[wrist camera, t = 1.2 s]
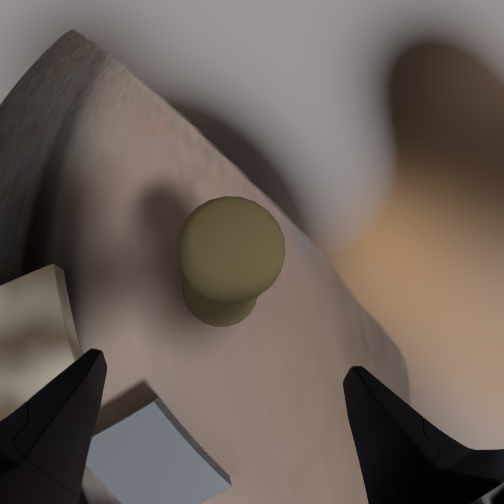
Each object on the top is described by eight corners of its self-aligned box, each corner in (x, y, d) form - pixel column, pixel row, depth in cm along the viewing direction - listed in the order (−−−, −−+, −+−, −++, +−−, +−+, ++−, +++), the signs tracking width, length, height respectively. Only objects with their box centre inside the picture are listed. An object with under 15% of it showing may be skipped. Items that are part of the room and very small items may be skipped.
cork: (273, 289, 23) (327, 238, 12) (221, 342, 20) (236, 337, 10) (221, 239, 23) (234, 156, 13) (168, 288, 21) (135, 232, 11)
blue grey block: (229, 473, 17) (231, 486, 15) (150, 512, 14) (146, 525, 12) (159, 395, 19) (153, 401, 16) (84, 439, 16) (72, 447, 13)
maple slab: (100, 405, 17) (91, 409, 15) (10, 419, 14) (-2, 422, 12) (63, 270, 20) (53, 263, 18) (-17, 303, 17) (-29, 299, 15)
